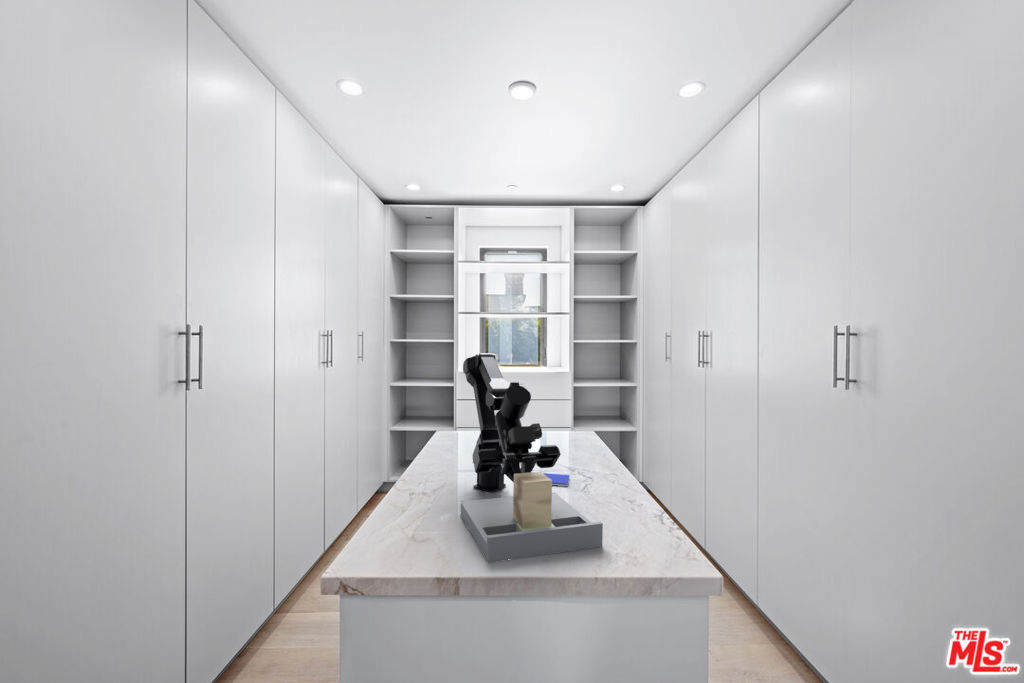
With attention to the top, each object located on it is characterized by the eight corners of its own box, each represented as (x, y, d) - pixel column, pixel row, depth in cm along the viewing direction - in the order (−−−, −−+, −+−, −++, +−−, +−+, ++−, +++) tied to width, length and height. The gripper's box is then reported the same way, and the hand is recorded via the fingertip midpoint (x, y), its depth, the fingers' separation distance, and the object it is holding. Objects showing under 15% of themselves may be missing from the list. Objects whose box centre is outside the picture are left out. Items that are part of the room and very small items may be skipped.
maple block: (513, 517, 96) (513, 473, 96) (539, 514, 98) (540, 471, 98) (522, 528, 91) (523, 482, 91) (551, 525, 93) (552, 480, 92)
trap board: (460, 514, 105) (460, 495, 105) (554, 504, 112) (554, 486, 112) (488, 562, 83) (488, 537, 83) (602, 546, 90) (602, 523, 90)
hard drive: (522, 479, 128) (567, 483, 126) (526, 471, 136) (569, 474, 134) (522, 485, 128) (567, 489, 126) (526, 476, 136) (569, 479, 134)
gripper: (478, 412, 100) (491, 478, 89) (557, 409, 106) (579, 471, 95) (469, 441, 107) (480, 505, 97) (544, 437, 113) (562, 497, 103)
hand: (526, 494), depth 98 cm, fingers closed
